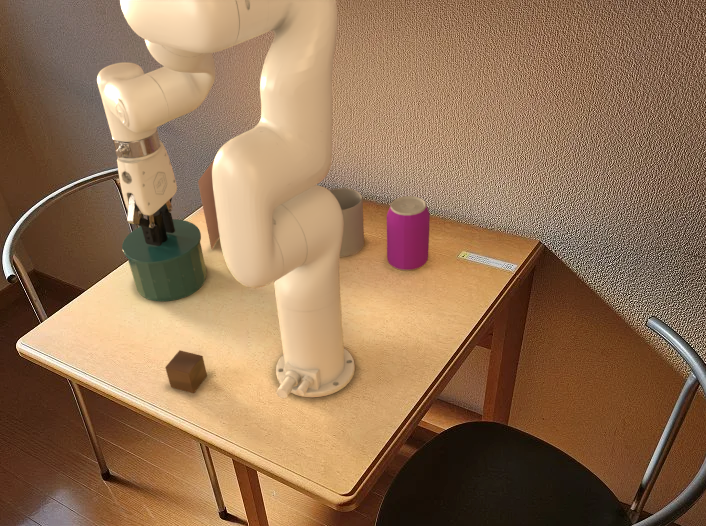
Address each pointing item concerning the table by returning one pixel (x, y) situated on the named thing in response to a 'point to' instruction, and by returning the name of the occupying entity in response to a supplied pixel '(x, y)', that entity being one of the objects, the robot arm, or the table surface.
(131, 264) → the pot
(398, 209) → the beverage can
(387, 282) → the table surface
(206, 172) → the greeting card
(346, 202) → the cup
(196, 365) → the block
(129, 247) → the lid
